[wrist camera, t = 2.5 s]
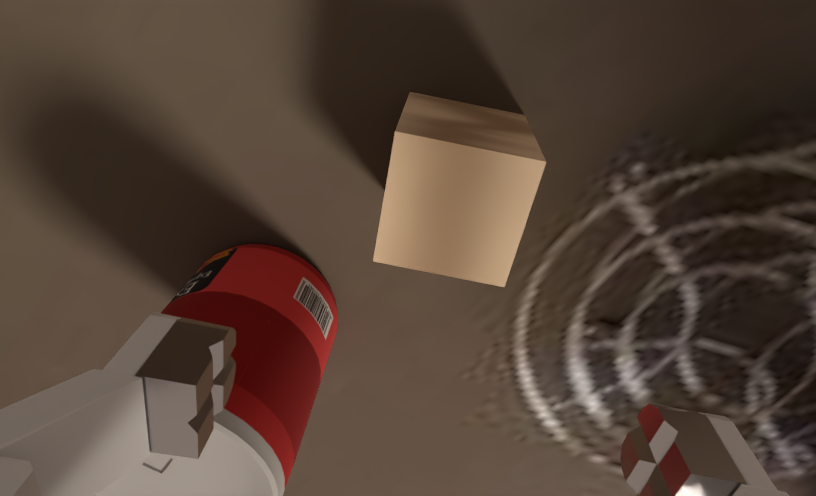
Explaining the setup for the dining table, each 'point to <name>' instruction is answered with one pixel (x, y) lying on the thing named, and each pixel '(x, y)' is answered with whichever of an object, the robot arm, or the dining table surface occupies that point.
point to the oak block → (458, 189)
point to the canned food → (250, 374)
